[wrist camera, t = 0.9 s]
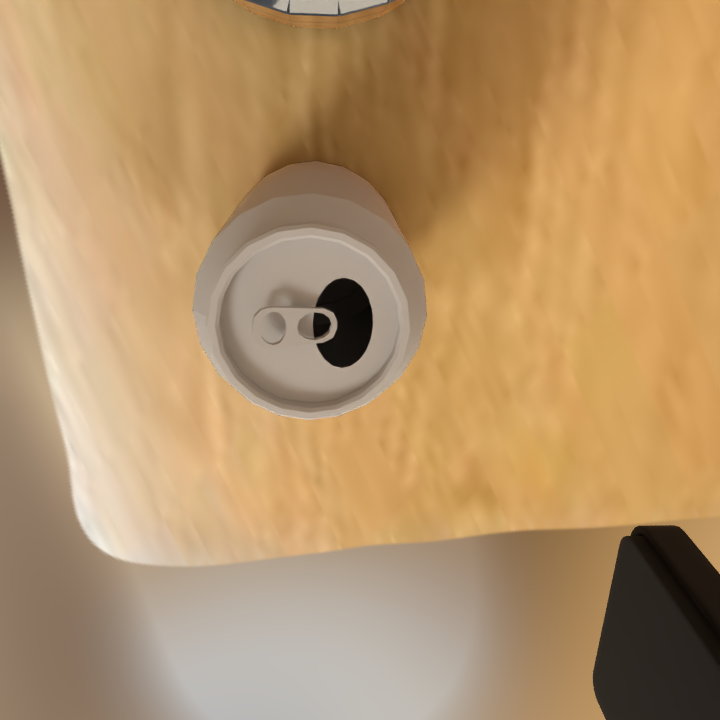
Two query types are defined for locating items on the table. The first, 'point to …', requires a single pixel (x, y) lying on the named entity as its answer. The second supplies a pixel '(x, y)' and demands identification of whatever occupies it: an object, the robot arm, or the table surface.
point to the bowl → (320, 11)
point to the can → (310, 294)
